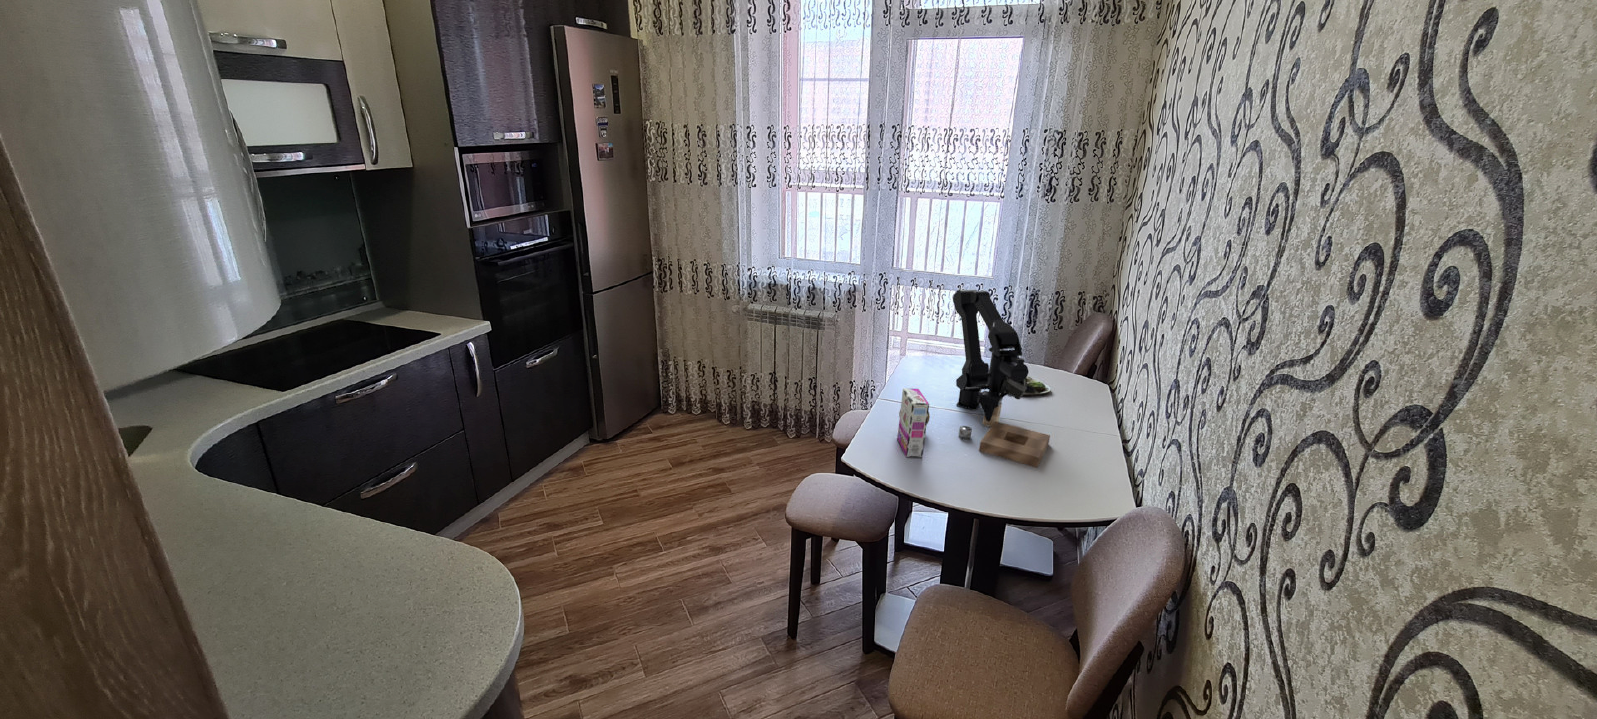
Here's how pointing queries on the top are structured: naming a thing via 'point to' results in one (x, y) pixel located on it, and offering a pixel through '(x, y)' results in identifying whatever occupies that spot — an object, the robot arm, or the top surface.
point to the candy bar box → (913, 422)
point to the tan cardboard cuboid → (993, 417)
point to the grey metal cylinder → (965, 432)
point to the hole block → (1015, 443)
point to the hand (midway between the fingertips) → (991, 416)
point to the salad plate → (1035, 388)
